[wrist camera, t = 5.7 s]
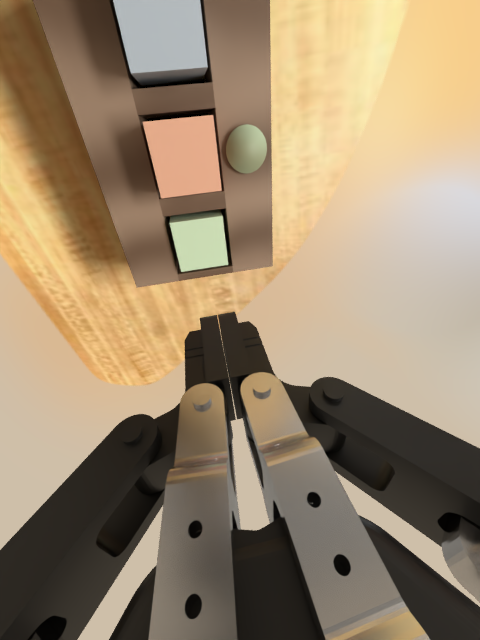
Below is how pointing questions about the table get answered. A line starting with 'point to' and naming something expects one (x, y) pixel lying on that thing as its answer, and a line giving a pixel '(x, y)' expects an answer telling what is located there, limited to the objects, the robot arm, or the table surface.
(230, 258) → the console
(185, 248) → the sage button
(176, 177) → the terracotta button
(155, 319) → the table surface
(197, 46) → the slate button
